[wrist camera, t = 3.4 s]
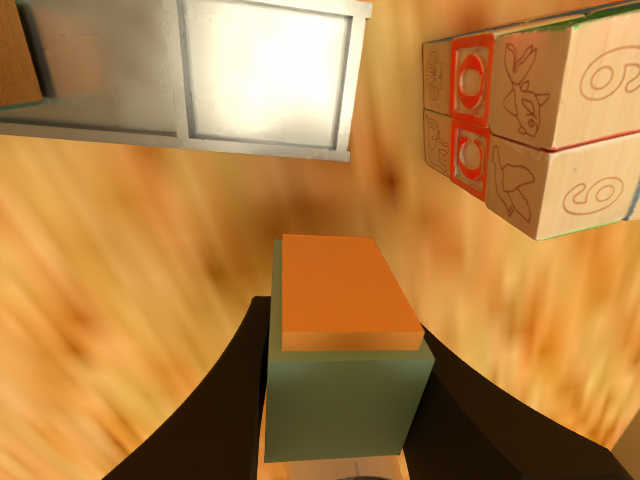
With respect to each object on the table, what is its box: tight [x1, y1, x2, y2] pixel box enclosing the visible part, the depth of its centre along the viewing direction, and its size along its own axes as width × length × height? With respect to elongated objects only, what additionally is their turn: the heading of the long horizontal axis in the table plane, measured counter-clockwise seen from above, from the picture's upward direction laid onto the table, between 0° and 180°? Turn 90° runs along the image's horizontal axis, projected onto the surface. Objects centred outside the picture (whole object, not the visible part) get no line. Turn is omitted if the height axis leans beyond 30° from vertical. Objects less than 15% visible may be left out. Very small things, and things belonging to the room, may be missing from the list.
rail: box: [0, 0, 373, 162], centre depth 11 cm, size 6×19×7 cm, turn 84°
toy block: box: [264, 234, 435, 463], centre depth 11 cm, size 4×5×6 cm
